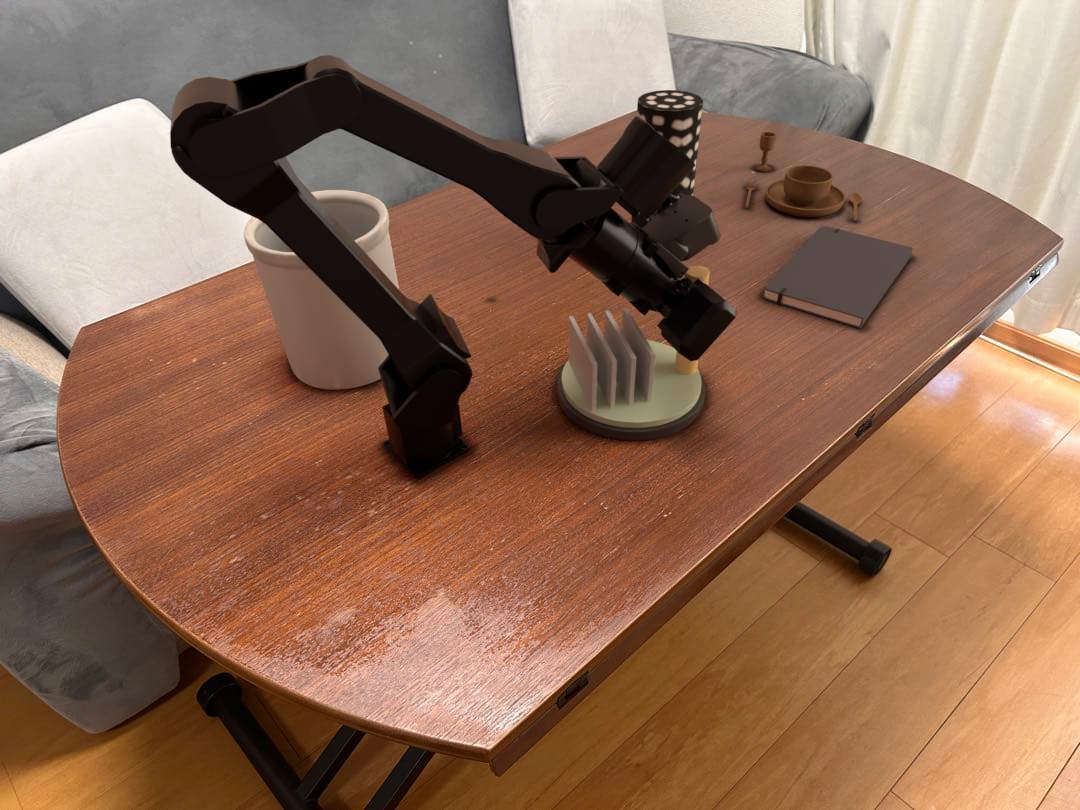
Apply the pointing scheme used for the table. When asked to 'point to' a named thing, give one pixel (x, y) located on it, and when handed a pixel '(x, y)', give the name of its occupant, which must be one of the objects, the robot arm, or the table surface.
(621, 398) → the dish rack
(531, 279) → the table surface
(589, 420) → the turntable base
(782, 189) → the place setting
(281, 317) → the utensil holder
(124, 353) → the table surface
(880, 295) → the notebook
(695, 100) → the white-spotted black cylinder
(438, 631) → the table surface
